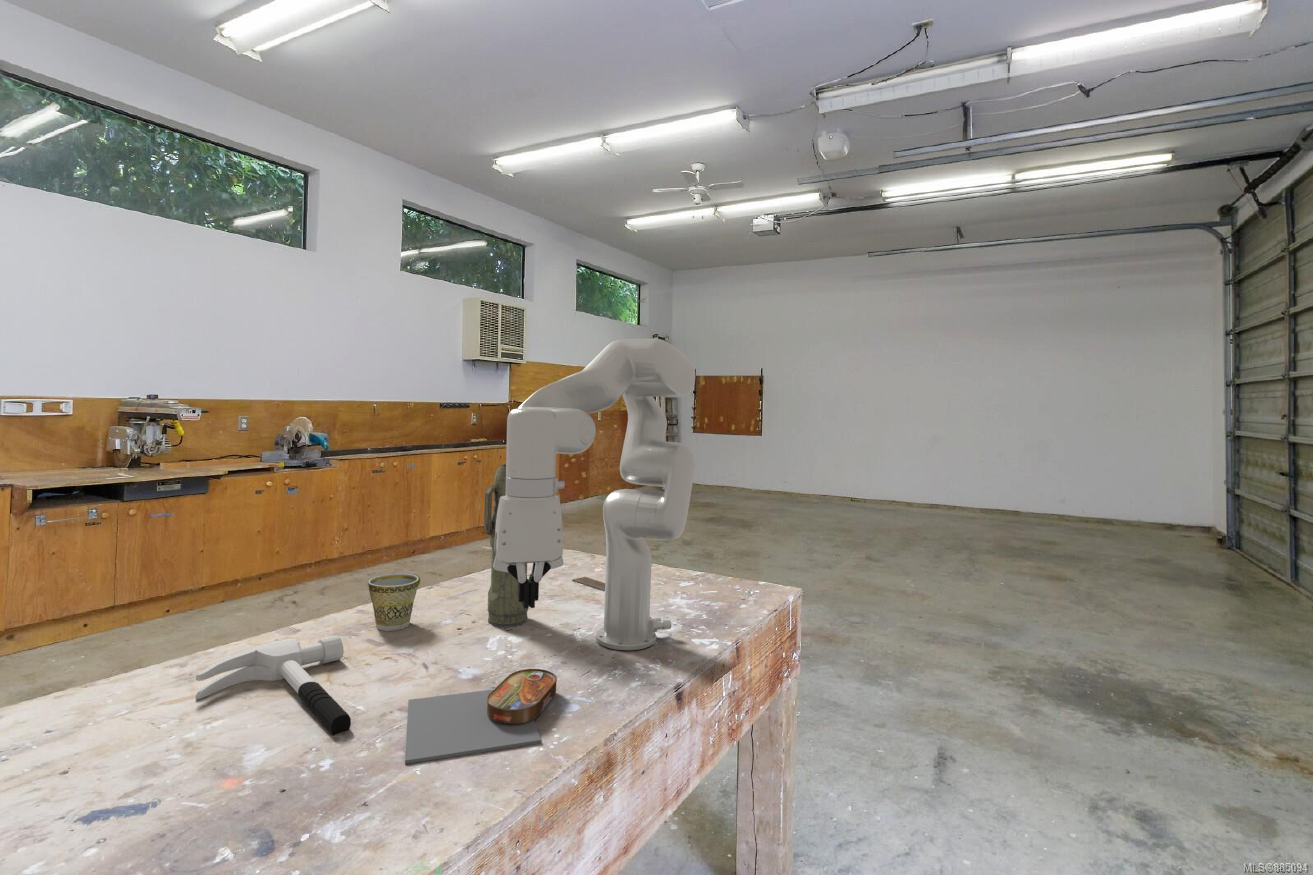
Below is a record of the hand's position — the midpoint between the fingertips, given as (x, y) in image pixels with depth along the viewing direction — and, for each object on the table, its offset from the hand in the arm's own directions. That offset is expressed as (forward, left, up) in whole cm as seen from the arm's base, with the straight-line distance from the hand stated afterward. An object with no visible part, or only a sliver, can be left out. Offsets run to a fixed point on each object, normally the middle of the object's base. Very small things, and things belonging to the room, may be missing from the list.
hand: (527, 605), depth 96 cm
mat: (+8, 0, -17) cm, 19 cm away
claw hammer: (+34, -14, -18) cm, 41 cm away
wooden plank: (-30, -66, -18) cm, 74 cm away
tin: (-4, 0, -16) cm, 16 cm away
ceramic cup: (+20, -48, -17) cm, 55 cm away
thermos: (-3, -44, -17) cm, 47 cm away
